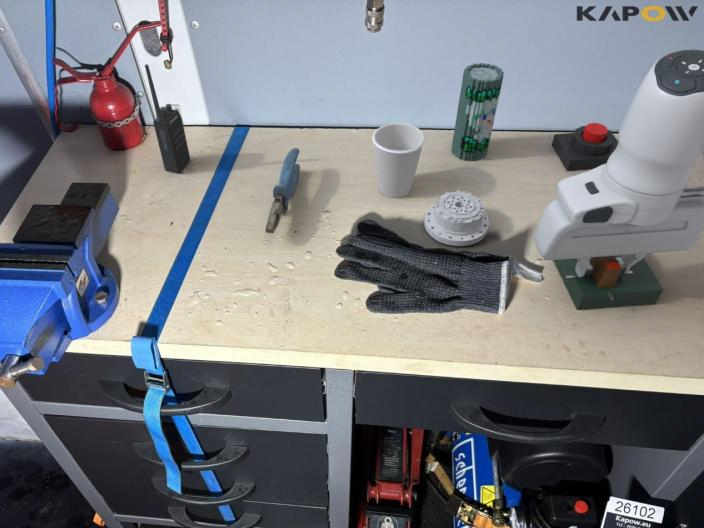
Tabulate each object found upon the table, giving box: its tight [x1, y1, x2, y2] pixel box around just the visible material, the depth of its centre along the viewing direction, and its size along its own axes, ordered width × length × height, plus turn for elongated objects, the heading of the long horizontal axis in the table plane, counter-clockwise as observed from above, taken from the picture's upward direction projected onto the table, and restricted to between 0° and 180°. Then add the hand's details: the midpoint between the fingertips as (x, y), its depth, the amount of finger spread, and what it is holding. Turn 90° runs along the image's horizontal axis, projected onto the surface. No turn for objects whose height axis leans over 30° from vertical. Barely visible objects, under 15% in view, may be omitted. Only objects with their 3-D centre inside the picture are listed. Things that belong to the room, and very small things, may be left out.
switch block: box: [551, 125, 618, 172], centre depth 105 cm, size 10×8×4 cm
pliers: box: [265, 147, 301, 234], centre depth 99 cm, size 20×2×6 cm, turn 168°
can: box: [450, 62, 505, 162], centre depth 104 cm, size 6×6×15 cm
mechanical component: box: [423, 189, 490, 247], centre depth 94 cm, size 10×4×10 cm
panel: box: [552, 255, 665, 311], centre depth 85 cm, size 12×11×3 cm
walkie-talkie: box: [144, 63, 191, 174], centre depth 103 cm, size 5×3×20 cm
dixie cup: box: [371, 122, 426, 199], centre depth 100 cm, size 8×8×10 cm
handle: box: [589, 256, 622, 288], centre depth 82 cm, size 5×2×4 cm, turn 3°
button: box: [582, 122, 609, 143], centre depth 103 cm, size 4×4×2 cm
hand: (600, 272), depth 83 cm, fingers open, 4 cm apart
